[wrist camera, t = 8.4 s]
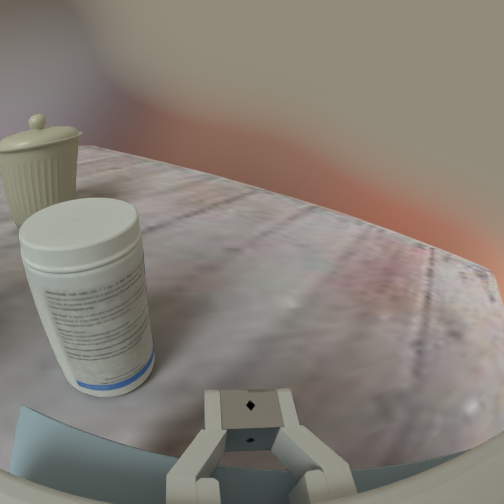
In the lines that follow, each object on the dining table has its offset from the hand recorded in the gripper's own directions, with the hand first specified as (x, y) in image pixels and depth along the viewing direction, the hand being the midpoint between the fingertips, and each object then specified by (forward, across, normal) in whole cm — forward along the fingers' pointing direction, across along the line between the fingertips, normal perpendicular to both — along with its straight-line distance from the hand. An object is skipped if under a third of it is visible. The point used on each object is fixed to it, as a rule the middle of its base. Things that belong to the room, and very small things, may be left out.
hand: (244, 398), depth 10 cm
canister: (+45, +34, +14) cm, 59 cm away
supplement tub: (+13, +11, +14) cm, 22 cm away
